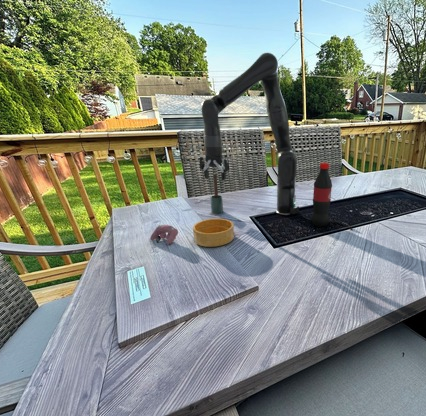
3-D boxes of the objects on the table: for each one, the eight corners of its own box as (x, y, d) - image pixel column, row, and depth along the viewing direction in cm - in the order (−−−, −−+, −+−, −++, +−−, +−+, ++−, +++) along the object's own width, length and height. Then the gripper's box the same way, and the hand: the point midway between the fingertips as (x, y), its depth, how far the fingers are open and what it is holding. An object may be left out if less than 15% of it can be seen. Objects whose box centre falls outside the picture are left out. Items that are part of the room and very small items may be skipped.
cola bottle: (330, 223, 129) (336, 162, 119) (324, 229, 122) (330, 165, 112) (315, 220, 132) (319, 160, 122) (308, 225, 125) (312, 163, 115)
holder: (225, 212, 136) (224, 195, 133) (219, 216, 131) (218, 198, 128) (215, 211, 137) (214, 194, 134) (209, 214, 132) (208, 197, 129)
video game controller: (177, 244, 104) (181, 227, 105) (168, 244, 100) (172, 226, 100) (157, 240, 107) (162, 223, 108) (148, 239, 103) (152, 222, 103)
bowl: (240, 233, 113) (239, 220, 111) (223, 250, 99) (222, 236, 97) (207, 229, 115) (206, 216, 113) (186, 245, 101) (184, 231, 99)
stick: (219, 211, 135) (217, 173, 128) (218, 212, 133) (215, 174, 126) (216, 211, 135) (214, 173, 128) (215, 212, 133) (212, 173, 127)
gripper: (230, 145, 125) (232, 178, 131) (203, 143, 127) (205, 176, 133) (223, 147, 118) (225, 182, 124) (194, 144, 120) (197, 179, 126)
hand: (215, 179), depth 128 cm, fingers open, 8 cm apart
